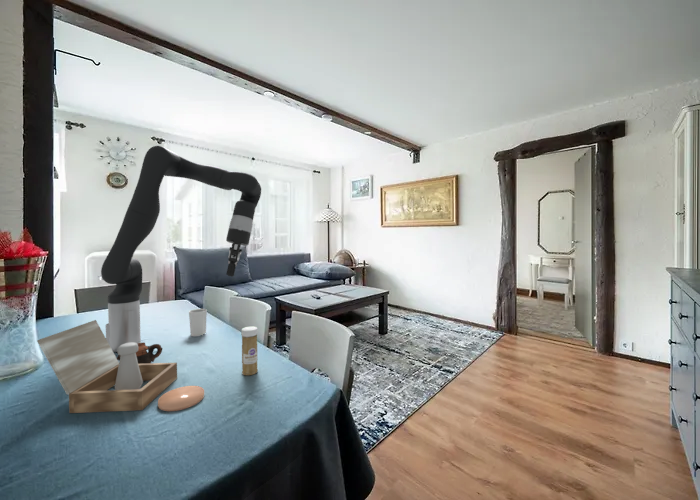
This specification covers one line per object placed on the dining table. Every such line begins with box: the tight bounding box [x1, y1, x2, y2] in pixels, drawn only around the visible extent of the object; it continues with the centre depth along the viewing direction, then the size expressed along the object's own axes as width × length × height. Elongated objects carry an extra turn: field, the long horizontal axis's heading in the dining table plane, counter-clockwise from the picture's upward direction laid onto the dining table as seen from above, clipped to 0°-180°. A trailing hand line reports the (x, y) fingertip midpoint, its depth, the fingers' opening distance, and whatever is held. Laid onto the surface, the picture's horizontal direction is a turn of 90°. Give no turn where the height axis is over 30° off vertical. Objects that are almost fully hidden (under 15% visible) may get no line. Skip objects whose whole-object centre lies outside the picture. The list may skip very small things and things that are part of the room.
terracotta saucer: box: [157, 385, 205, 412], centre depth 74 cm, size 10×10×1 cm
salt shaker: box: [114, 342, 144, 390], centre depth 76 cm, size 6×6×13 cm
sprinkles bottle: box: [240, 325, 259, 376], centre depth 88 cm, size 5×5×14 cm
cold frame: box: [36, 319, 178, 414], centre depth 76 cm, size 22×16×17 cm
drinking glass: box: [188, 308, 208, 337], centre depth 124 cm, size 7×7×10 cm
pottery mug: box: [116, 341, 163, 364], centre depth 94 cm, size 12×10×8 cm
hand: (230, 275), depth 101 cm, fingers open, 8 cm apart
